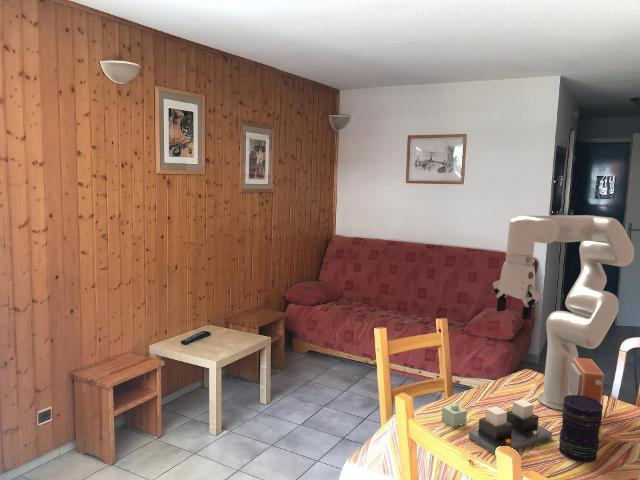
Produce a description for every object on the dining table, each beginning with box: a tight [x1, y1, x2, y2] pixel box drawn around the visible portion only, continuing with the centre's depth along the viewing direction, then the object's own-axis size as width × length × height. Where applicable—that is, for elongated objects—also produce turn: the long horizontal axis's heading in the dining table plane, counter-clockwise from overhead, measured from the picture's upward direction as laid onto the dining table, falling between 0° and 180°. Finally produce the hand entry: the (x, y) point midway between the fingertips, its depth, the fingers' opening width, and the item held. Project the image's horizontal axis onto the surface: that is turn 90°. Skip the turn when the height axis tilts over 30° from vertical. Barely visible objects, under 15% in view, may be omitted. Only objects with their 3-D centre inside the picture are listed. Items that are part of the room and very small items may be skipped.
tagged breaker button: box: [485, 405, 507, 427], centre depth 152 cm, size 4×4×5 cm
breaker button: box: [511, 399, 534, 419], centre depth 157 cm, size 4×4×5 cm
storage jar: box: [558, 395, 604, 464], centre depth 147 cm, size 10×10×15 cm
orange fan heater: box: [568, 357, 605, 404], centre depth 158 cm, size 21×7×15 cm
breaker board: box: [468, 409, 553, 455], centre depth 154 cm, size 22×11×6 cm, turn 119°
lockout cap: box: [441, 402, 468, 428], centre depth 164 cm, size 5×5×6 cm
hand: (513, 315), depth 160 cm, fingers open, 9 cm apart
